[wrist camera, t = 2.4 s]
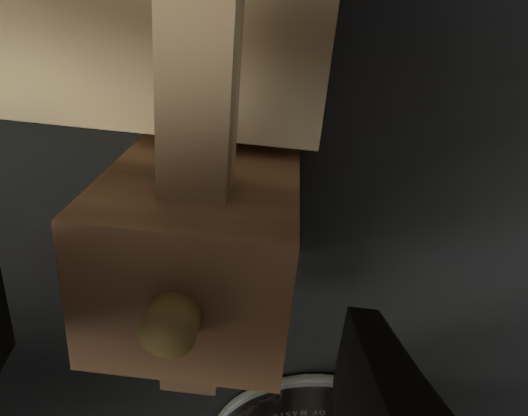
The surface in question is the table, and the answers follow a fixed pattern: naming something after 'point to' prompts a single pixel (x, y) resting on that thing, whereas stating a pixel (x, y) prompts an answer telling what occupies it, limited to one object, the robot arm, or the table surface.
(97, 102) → the board
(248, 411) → the coffee can
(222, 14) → the gauge
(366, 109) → the table surface
